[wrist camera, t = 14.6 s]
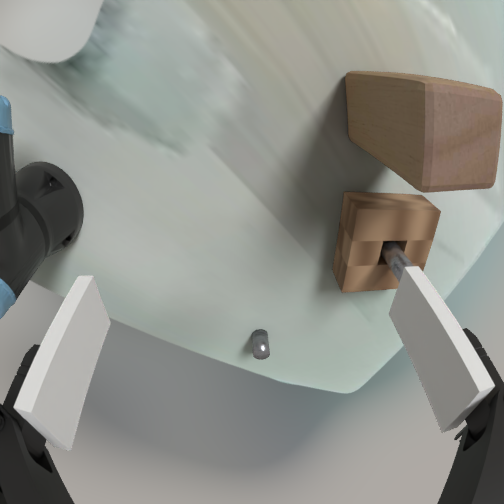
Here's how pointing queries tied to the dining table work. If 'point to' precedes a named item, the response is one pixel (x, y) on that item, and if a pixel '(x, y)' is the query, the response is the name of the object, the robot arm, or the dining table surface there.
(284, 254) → the dining table surface
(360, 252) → the socket block
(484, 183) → the wooden block
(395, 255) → the long pin
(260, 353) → the short pin
